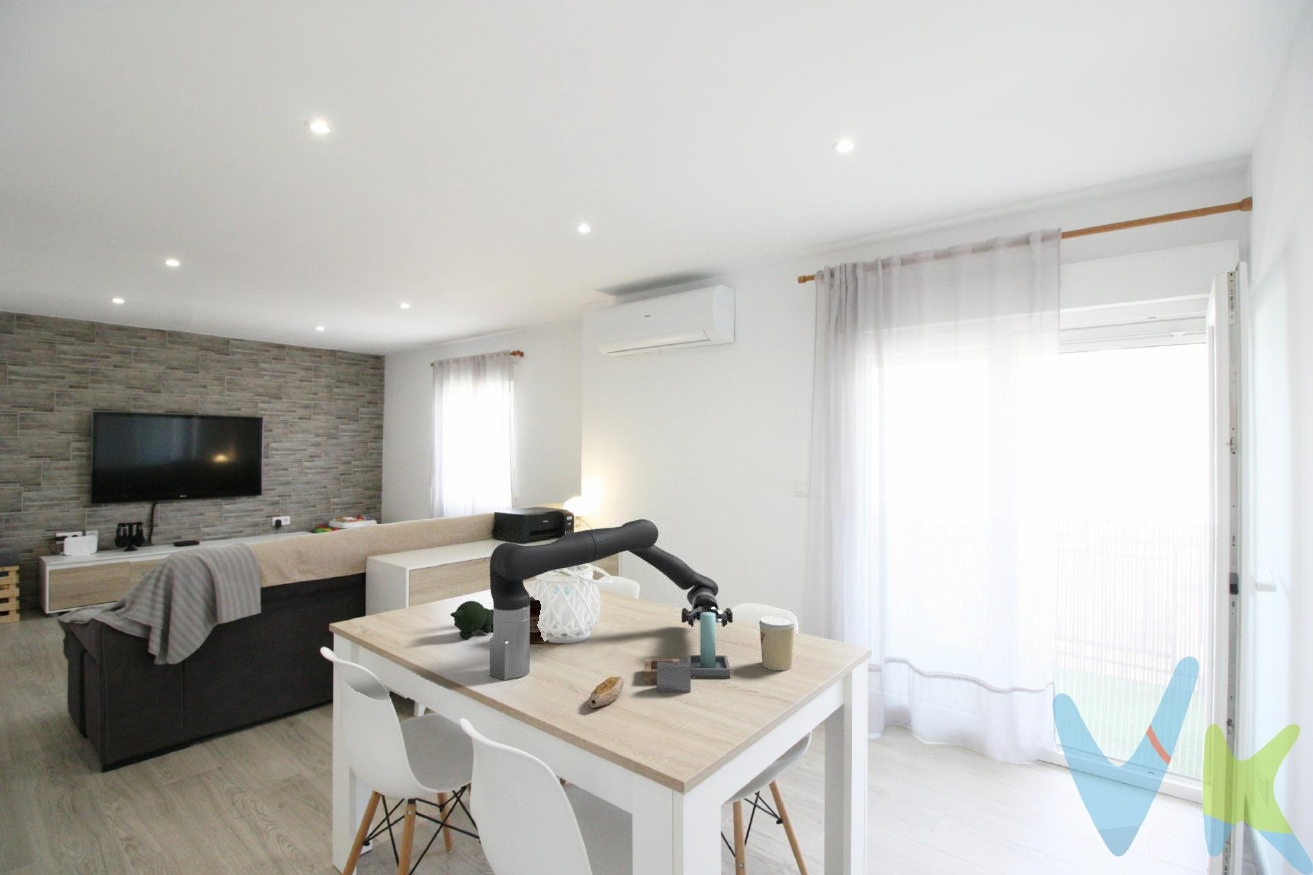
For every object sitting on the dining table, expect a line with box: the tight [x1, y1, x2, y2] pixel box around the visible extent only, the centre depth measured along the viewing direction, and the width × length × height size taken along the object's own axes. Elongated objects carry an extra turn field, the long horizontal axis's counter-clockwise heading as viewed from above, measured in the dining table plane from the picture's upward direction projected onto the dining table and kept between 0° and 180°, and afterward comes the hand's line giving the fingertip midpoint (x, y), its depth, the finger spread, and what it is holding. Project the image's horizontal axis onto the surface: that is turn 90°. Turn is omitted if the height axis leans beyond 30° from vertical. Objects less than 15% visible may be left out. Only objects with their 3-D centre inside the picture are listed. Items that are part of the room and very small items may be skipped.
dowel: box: [699, 612, 717, 668], centre depth 158 cm, size 4×4×14 cm
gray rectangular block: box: [656, 661, 692, 693], centre depth 145 cm, size 3×8×6 cm, turn 89°
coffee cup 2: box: [758, 615, 796, 671], centre depth 161 cm, size 9×9×12 cm
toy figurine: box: [450, 600, 493, 640], centre depth 189 cm, size 9×19×25 cm
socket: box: [643, 658, 681, 685], centre depth 153 cm, size 9×9×3 cm
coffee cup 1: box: [530, 596, 545, 644], centre depth 182 cm, size 9×8×13 cm
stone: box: [588, 676, 625, 709], centre depth 139 cm, size 5×14×4 cm, turn 156°
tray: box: [686, 654, 731, 679], centre depth 157 cm, size 11×11×2 cm
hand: (708, 623), depth 162 cm, fingers open, 8 cm apart
